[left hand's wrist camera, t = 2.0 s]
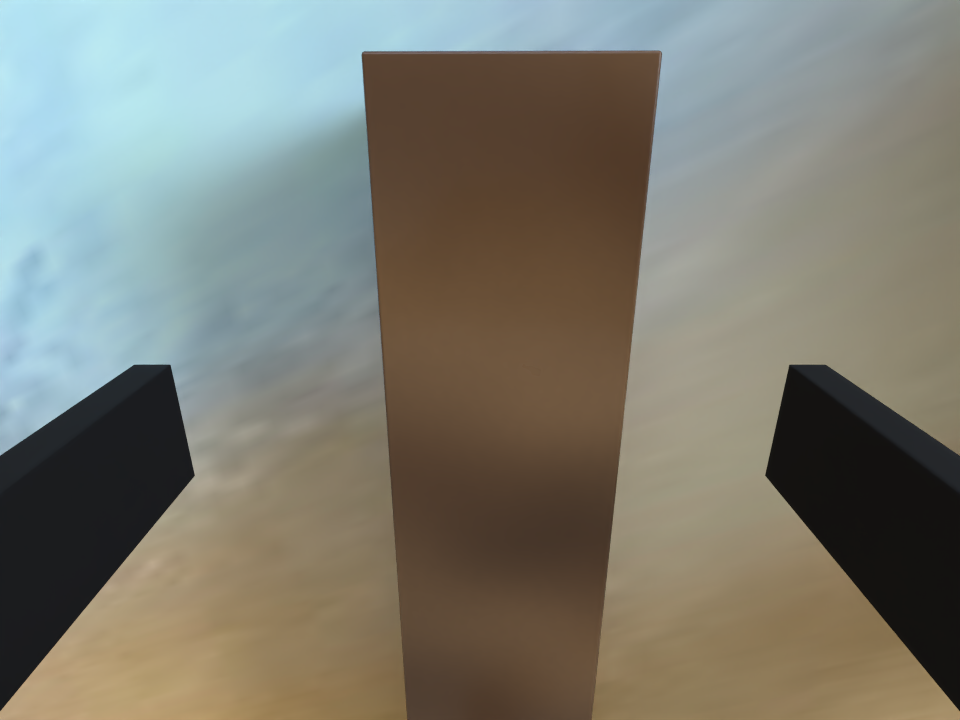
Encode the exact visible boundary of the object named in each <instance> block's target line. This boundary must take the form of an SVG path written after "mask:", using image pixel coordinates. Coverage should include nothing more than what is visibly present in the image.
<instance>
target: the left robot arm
mask: <svg viewBox="0 0 960 720" xmlns="http://www.w3.org/2000/svg"><path fill="white" fill-rule="evenodd" d="M194 476H195V475H194V470H193V465H192V461H191V456H190V452H189V447H188V443H187V438H186V433H185V429H184V424H183V420H182V415H181V411H180V406H179V401H178V397H177V392H176V388H175V383H174V378H173V374H172V369H171V365H133V366H132V367H130V368H129V369H127V370H126V371H124V372H123V373H122V374H120V375H119V376H117V377H116V378H114V379H113V380H111V381H110V382H108V383H107V384H105V385H104V386H102V387H101V388H99V389H98V390H96V391H95V392H94V393H92V394H91V395H89V396H88V397H86V398H85V399H83V400H82V401H80V402H79V403H77V404H76V405H74V406H73V407H71V408H70V409H69V410H67V411H66V412H64V413H63V414H61V415H60V416H58V417H57V418H55V419H54V420H52V421H51V422H49V423H48V424H46V425H45V426H43V427H42V428H41V429H39V430H38V431H36V432H35V433H33V434H32V435H30V436H29V437H27V438H26V439H24V440H23V441H21V442H20V443H18V444H17V445H15V446H14V447H13V448H11V449H10V450H8V451H7V452H5V453H4V454H2V455H1V456H0V711H1V710H2V708H3V707H4V706H5V705H6V704H7V702H8V701H9V700H10V699H11V697H12V696H13V695H14V694H15V693H16V691H17V690H18V689H19V688H20V687H21V685H22V684H23V683H24V682H25V680H26V679H27V678H28V677H29V676H30V674H31V673H32V672H33V671H34V670H35V668H36V667H37V666H38V665H39V664H40V662H41V661H42V660H43V659H44V657H45V656H46V655H47V654H48V653H49V651H50V650H51V649H52V648H53V647H54V645H55V644H56V643H57V642H58V641H59V639H60V638H61V637H62V636H63V634H64V633H65V632H66V631H67V630H68V628H69V627H70V626H71V625H72V624H73V622H74V621H75V620H76V619H77V618H78V616H79V615H80V614H81V613H82V611H83V610H84V609H85V608H86V607H87V605H88V604H89V603H90V602H91V601H92V599H93V598H94V597H95V596H96V595H97V593H98V592H99V591H100V590H101V588H102V587H103V586H104V585H105V584H106V582H107V581H108V580H109V579H110V578H111V576H112V575H113V574H114V573H115V572H116V570H117V569H118V568H119V567H120V565H121V564H122V563H123V562H124V561H125V559H126V558H127V557H128V556H129V555H130V553H131V552H132V551H133V550H134V549H135V547H136V546H137V545H138V544H139V542H140V541H141V540H142V539H143V538H144V536H145V535H146V534H147V533H148V532H149V530H150V529H151V528H152V527H153V526H154V524H155V523H156V522H157V521H158V519H159V518H160V517H161V516H162V515H163V513H164V512H165V511H166V510H167V509H168V507H169V506H170V505H171V504H172V503H173V501H174V500H175V499H176V498H177V496H178V495H179V494H180V493H181V492H182V490H183V489H184V488H185V487H186V486H187V484H188V483H189V482H190V481H191V479H192V478H193V477H194ZM765 476H766V477H767V478H768V479H769V481H770V482H771V483H772V484H773V486H774V487H775V488H776V489H777V490H778V492H779V493H780V494H781V495H782V496H783V498H784V499H785V500H786V501H787V503H788V504H789V505H790V506H791V507H792V509H793V510H794V511H795V512H796V513H797V515H798V516H799V517H800V518H801V519H802V521H803V522H804V523H805V524H806V526H807V527H808V528H809V529H810V530H811V532H812V533H813V534H814V535H815V536H816V538H817V539H818V540H819V541H820V542H821V544H822V545H823V546H824V547H825V549H826V550H827V551H828V552H829V553H830V555H831V556H832V557H833V558H834V559H835V561H836V562H837V563H838V564H839V565H840V567H841V568H842V569H843V570H844V572H845V573H846V574H847V575H848V576H849V578H850V579H851V580H852V581H853V582H854V584H855V585H856V586H857V587H858V588H859V590H860V591H861V592H862V593H863V595H864V596H865V597H866V598H867V599H868V601H869V602H870V603H871V604H872V605H873V607H874V608H875V609H876V610H877V611H878V613H879V614H880V615H881V616H882V618H883V619H884V620H885V621H886V622H887V624H888V625H889V626H890V627H891V628H892V630H893V631H894V632H895V633H896V634H897V636H898V637H899V638H900V639H901V641H902V642H903V643H904V644H905V645H906V647H907V648H908V649H909V650H910V651H911V653H912V654H913V655H914V656H915V657H916V659H917V660H918V661H919V662H920V664H921V665H922V666H923V667H924V668H925V670H926V671H927V672H928V673H929V674H930V676H931V677H932V678H933V679H934V680H935V682H936V683H937V684H938V685H939V687H940V688H941V689H942V690H943V691H944V693H945V694H946V695H947V696H948V697H949V699H950V700H951V701H952V702H953V704H954V705H955V706H956V707H957V708H958V710H959V711H960V456H959V455H958V454H956V453H955V452H953V451H952V450H950V449H949V448H947V447H946V446H945V445H943V444H942V443H940V442H939V441H937V440H936V439H934V438H933V437H931V436H930V435H928V434H927V433H925V432H924V431H922V430H921V429H919V428H918V427H917V426H915V425H914V424H912V423H911V422H909V421H908V420H906V419H905V418H903V417H902V416H900V415H899V414H897V413H896V412H894V411H893V410H891V409H890V408H889V407H887V406H886V405H884V404H883V403H881V402H880V401H878V400H877V399H875V398H874V397H872V396H871V395H869V394H868V393H866V392H865V391H864V390H862V389H861V388H859V387H858V386H856V385H855V384H853V383H852V382H850V381H849V380H847V379H846V378H844V377H843V376H841V375H840V374H838V373H837V372H836V371H834V370H833V369H831V368H830V367H828V366H827V365H789V369H788V374H787V378H786V383H785V388H784V392H783V397H782V401H781V406H780V411H779V415H778V420H777V424H776V429H775V433H774V438H773V443H772V447H771V452H770V456H769V461H768V465H767V470H766V475H765Z"/></svg>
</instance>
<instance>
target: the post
mask: <svg viewBox="0 0 960 720" xmlns="http://www.w3.org/2000/svg"><path fill="white" fill-rule="evenodd" d="M661 59H662V53H661V51H364V52H362V68H363V83H364V97H365V112H366V126H367V141H368V155H369V170H370V184H371V199H372V213H373V228H374V243H375V257H376V272H377V286H378V301H379V315H380V330H381V344H382V359H383V373H384V388H385V402H386V417H387V431H388V446H389V460H390V475H391V490H392V504H393V519H394V533H395V548H396V562H397V577H398V591H399V606H400V620H401V635H402V649H403V664H404V678H405V693H406V708H407V720H592V711H593V701H594V692H595V682H596V673H597V663H598V654H599V644H600V635H601V626H602V616H603V607H604V597H605V588H606V578H607V569H608V559H609V550H610V540H611V531H612V522H613V512H614V503H615V493H616V484H617V474H618V465H619V455H620V446H621V437H622V427H623V418H624V408H625V399H626V389H627V380H628V370H629V361H630V351H631V342H632V333H633V323H634V314H635V304H636V295H637V285H638V276H639V266H640V257H641V248H642V238H643V229H644V219H645V210H646V200H647V191H648V181H649V172H650V162H651V153H652V144H653V134H654V125H655V115H656V106H657V96H658V87H659V77H660V68H661Z"/></svg>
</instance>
